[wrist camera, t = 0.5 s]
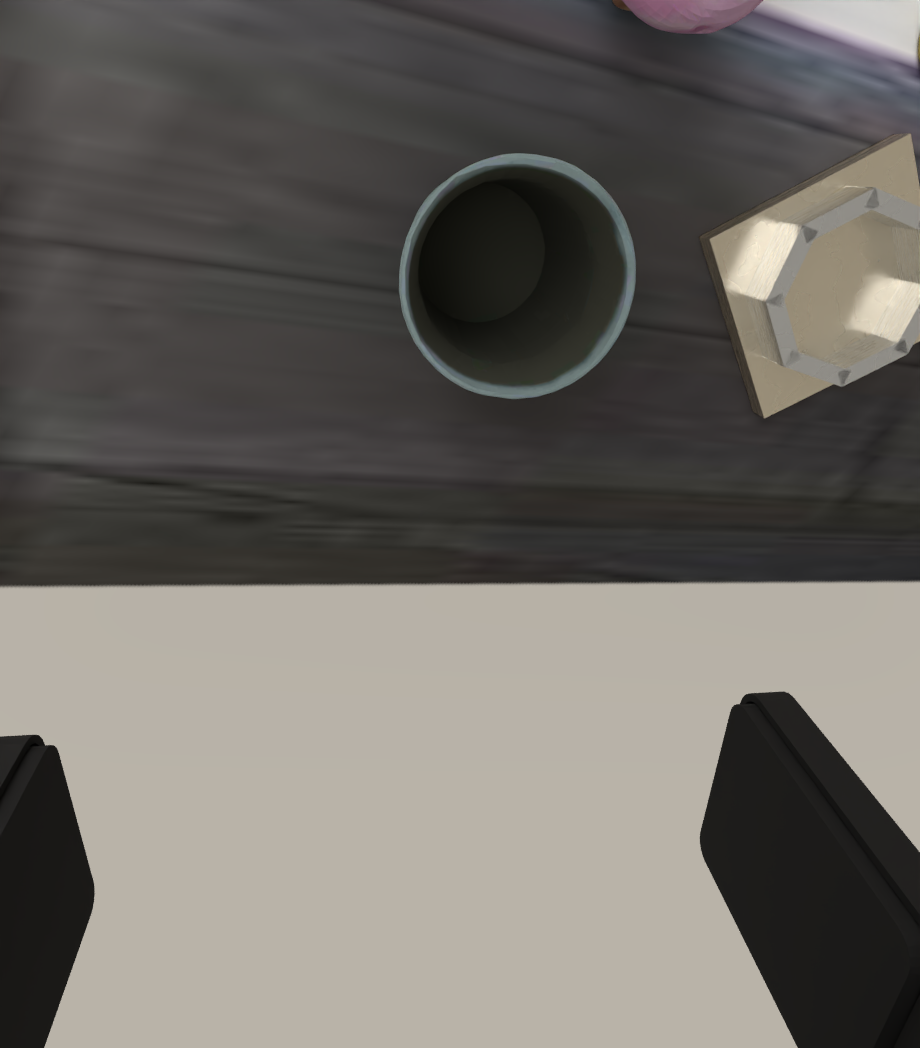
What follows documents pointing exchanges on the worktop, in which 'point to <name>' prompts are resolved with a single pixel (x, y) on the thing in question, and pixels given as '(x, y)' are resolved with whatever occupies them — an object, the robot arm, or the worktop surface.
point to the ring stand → (823, 277)
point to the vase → (919, 49)
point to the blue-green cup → (517, 276)
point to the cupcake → (689, 13)
